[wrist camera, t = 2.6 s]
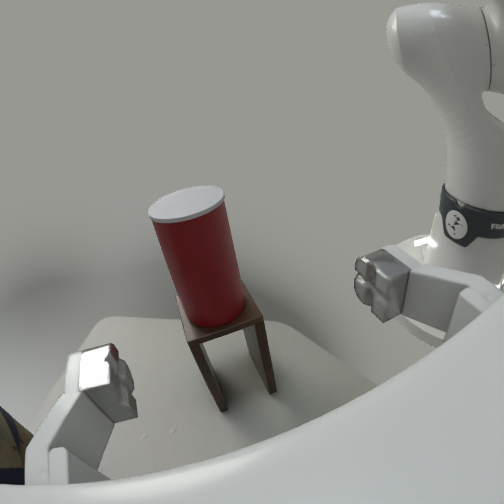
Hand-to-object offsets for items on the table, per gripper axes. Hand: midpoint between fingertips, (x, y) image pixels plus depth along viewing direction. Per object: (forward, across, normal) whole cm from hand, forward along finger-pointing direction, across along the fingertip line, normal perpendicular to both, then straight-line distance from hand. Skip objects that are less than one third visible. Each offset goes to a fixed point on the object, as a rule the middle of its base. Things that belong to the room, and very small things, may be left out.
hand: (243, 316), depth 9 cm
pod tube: (+13, 0, +10) cm, 16 cm away
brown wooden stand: (+13, 0, +21) cm, 24 cm away
